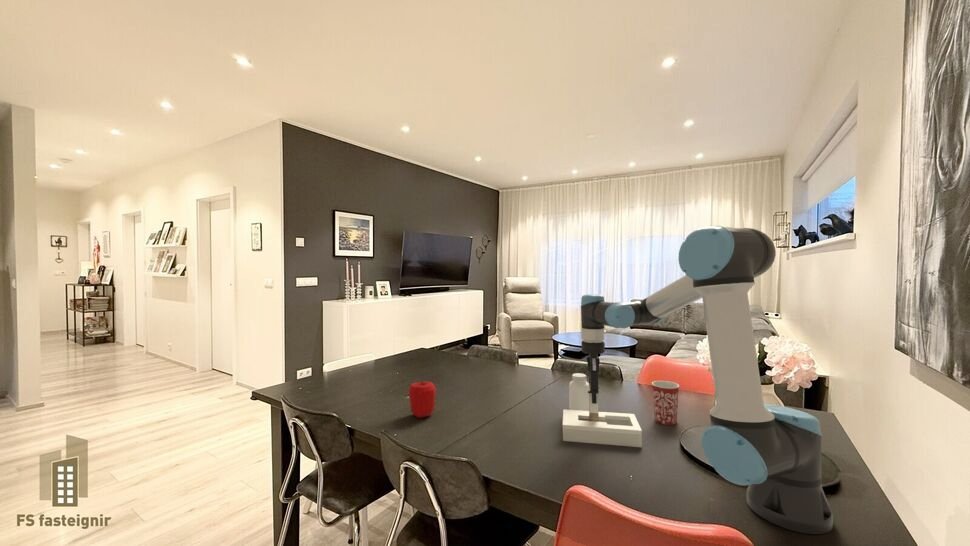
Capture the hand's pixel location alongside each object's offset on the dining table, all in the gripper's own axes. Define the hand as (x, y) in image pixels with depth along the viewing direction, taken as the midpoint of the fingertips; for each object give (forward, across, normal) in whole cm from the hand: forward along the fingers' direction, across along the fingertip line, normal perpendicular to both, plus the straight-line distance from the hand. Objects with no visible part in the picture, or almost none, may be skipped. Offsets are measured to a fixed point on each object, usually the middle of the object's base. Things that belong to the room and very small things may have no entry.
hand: (593, 410), depth 127 cm
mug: (+8, +18, -27) cm, 33 cm away
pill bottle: (+8, +18, +4) cm, 20 cm away
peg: (+8, 0, 0) cm, 8 cm away
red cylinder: (+8, +5, +63) cm, 64 cm away
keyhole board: (+8, 0, -2) cm, 8 cm away
